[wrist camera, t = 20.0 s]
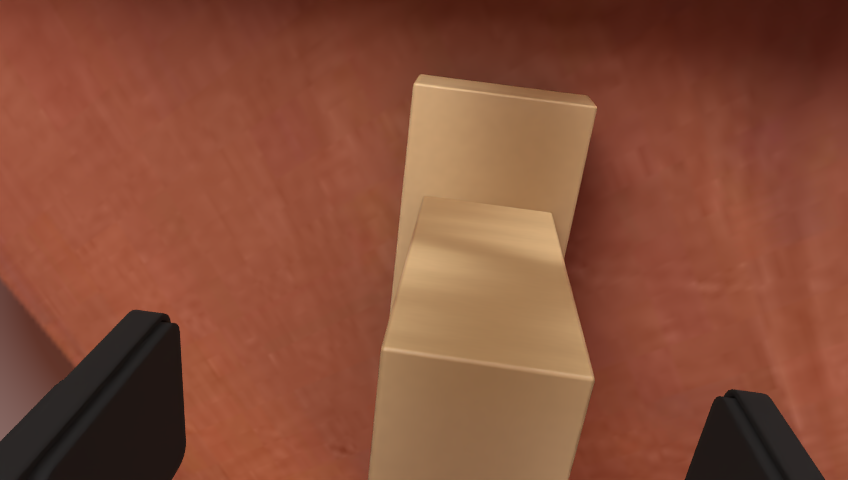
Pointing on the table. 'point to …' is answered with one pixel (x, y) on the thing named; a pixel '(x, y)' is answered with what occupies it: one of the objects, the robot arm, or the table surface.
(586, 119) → the brush
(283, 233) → the table surface
